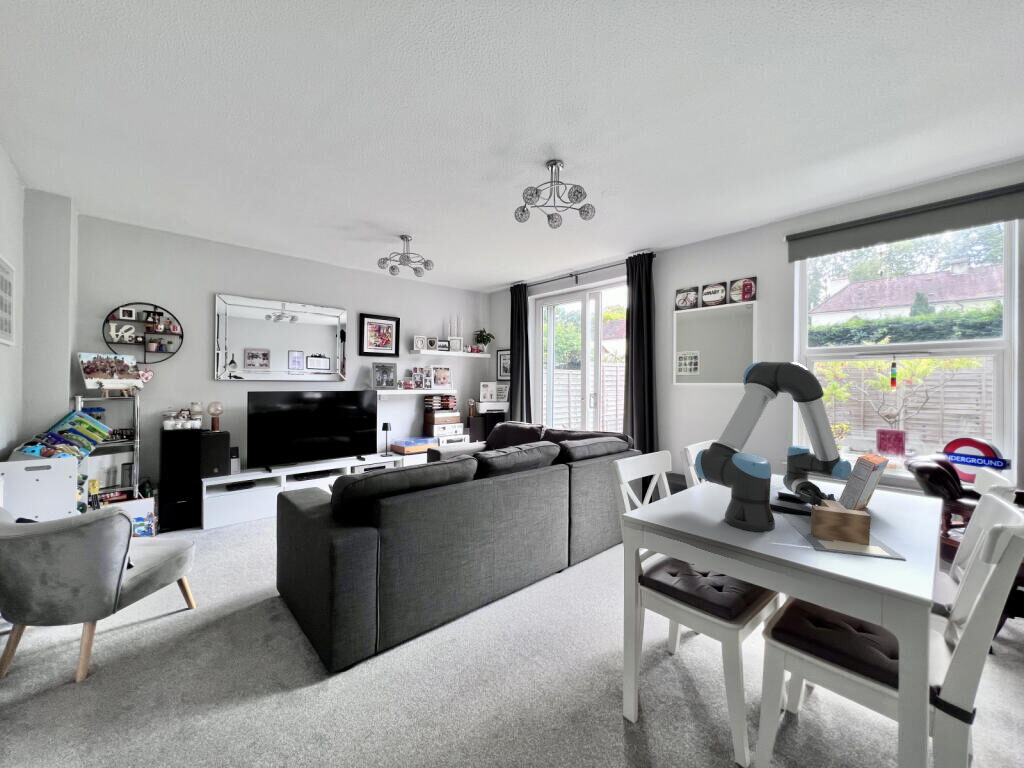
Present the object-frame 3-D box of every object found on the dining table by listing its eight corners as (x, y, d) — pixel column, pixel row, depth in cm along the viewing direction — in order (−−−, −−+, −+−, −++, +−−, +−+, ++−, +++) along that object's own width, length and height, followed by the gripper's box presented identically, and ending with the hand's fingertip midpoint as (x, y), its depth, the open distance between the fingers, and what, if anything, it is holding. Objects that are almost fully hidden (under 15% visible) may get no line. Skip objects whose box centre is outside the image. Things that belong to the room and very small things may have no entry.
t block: (814, 537, 135) (815, 509, 135) (803, 523, 147) (804, 497, 147) (869, 545, 130) (870, 515, 129) (853, 529, 142) (854, 503, 142)
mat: (816, 550, 126) (816, 548, 126) (780, 514, 157) (780, 513, 157) (906, 560, 120) (906, 559, 120) (850, 521, 151) (850, 520, 151)
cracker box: (849, 498, 172) (872, 452, 166) (867, 506, 167) (891, 459, 161) (835, 504, 164) (858, 455, 158) (852, 513, 160) (877, 464, 154)
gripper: (825, 501, 165) (856, 522, 143) (786, 498, 169) (811, 518, 146) (825, 482, 165) (857, 500, 142) (787, 479, 168) (812, 497, 146)
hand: (833, 509), depth 144 cm, fingers closed
